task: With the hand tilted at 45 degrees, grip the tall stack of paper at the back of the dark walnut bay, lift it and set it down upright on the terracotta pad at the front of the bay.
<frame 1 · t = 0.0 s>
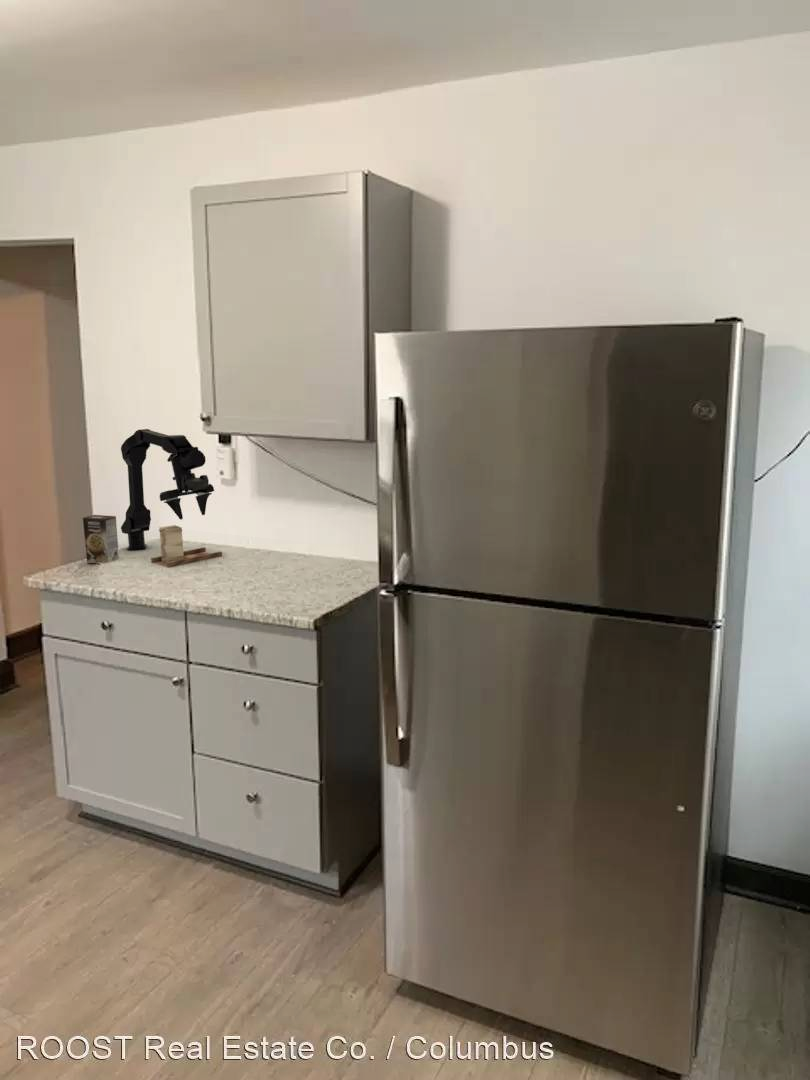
hand: (192, 517, 285), 15 cm above the counter, tool pointing down, fingers open, 9 cm apart
coffee box: (103, 563, 289), on the counter
bay: (187, 562, 287), on the counter
stack of paper: (173, 562, 283), point 1 cm above the counter, touching bay
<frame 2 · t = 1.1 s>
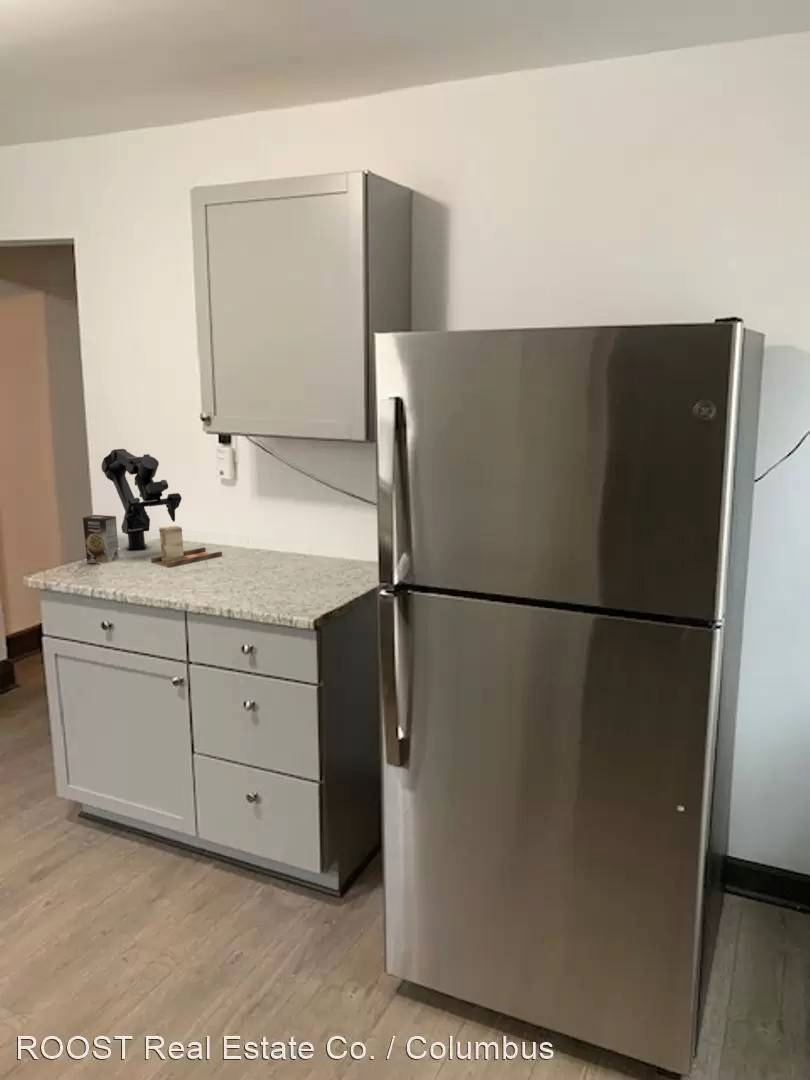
hand: (161, 522, 287), 13 cm above the counter, tool tilted 45°, fingers open, 9 cm apart
nothing on the counter moved.
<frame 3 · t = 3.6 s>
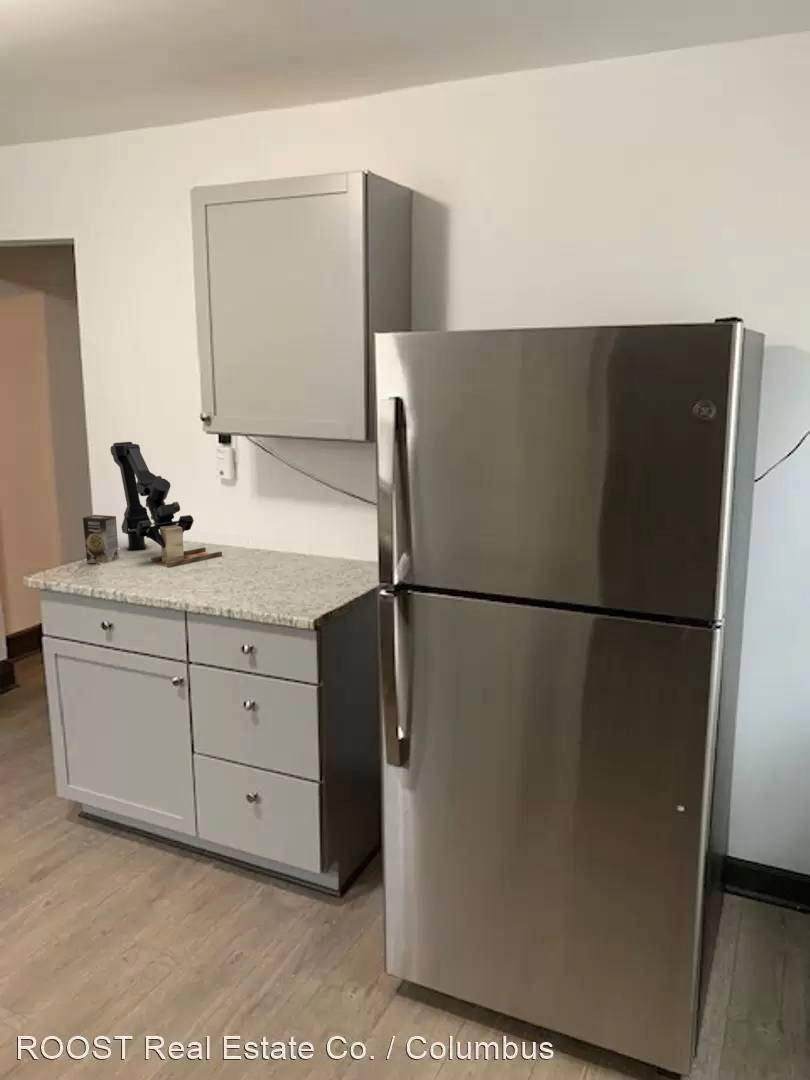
hand: (173, 546, 281), 7 cm above the counter, tool tilted 45°, fingers closed on stack of paper, 6 cm apart
stack of paper: (173, 562, 283), point 1 cm above the counter, touching bay, gripper
everything else where it was.
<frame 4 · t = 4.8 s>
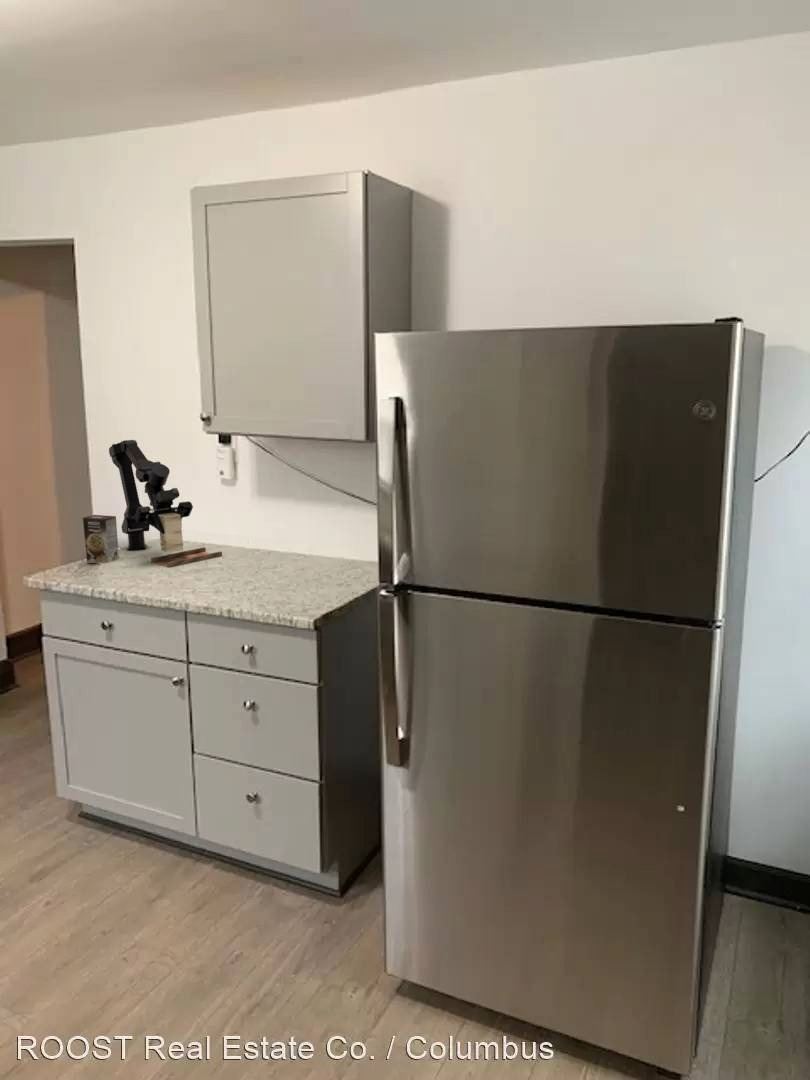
hand: (172, 532, 280), 12 cm above the counter, tool tilted 45°, fingers closed on stack of paper, 5 cm apart
stack of paper: (172, 550, 282), point 5 cm above the counter, touching gripper
everything else where it was.
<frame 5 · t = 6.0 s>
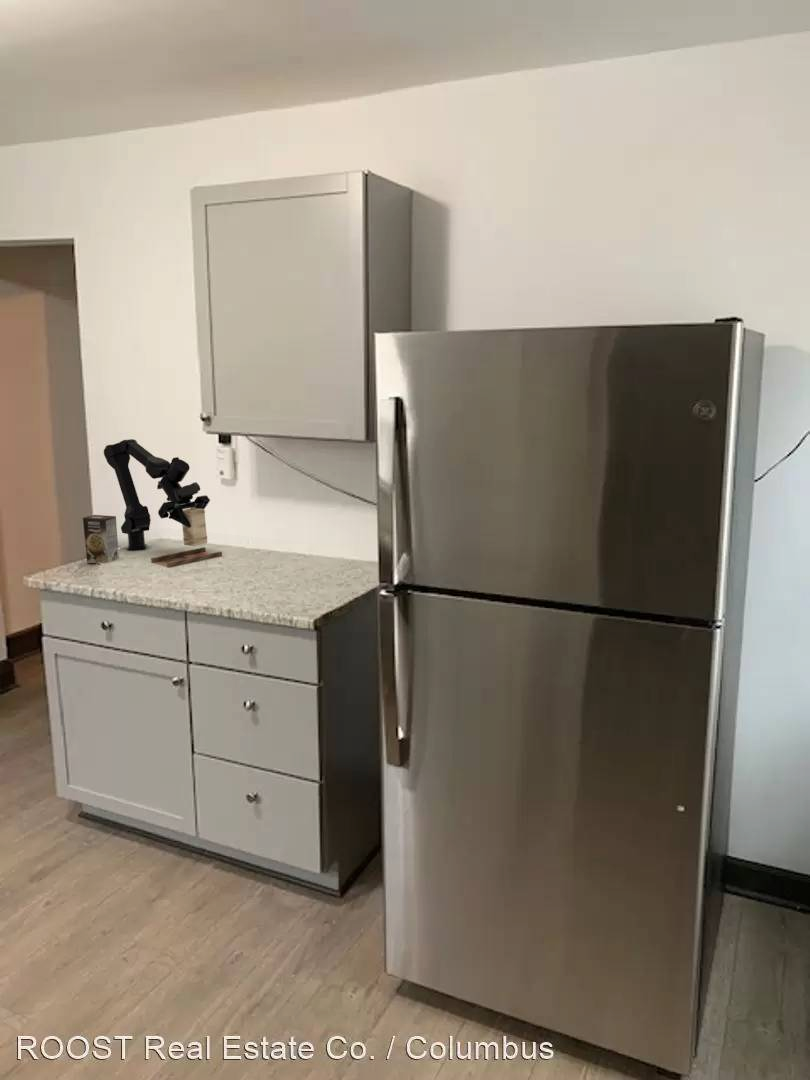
hand: (196, 525, 286), 12 cm above the counter, tool tilted 45°, fingers closed on stack of paper, 5 cm apart
stack of paper: (195, 544, 288), point 6 cm above the counter, touching gripper
everything else where it was.
when the fingers open (8 cm above the counter, at t = 7.7 s): stack of paper stays where it is, resting on bay.
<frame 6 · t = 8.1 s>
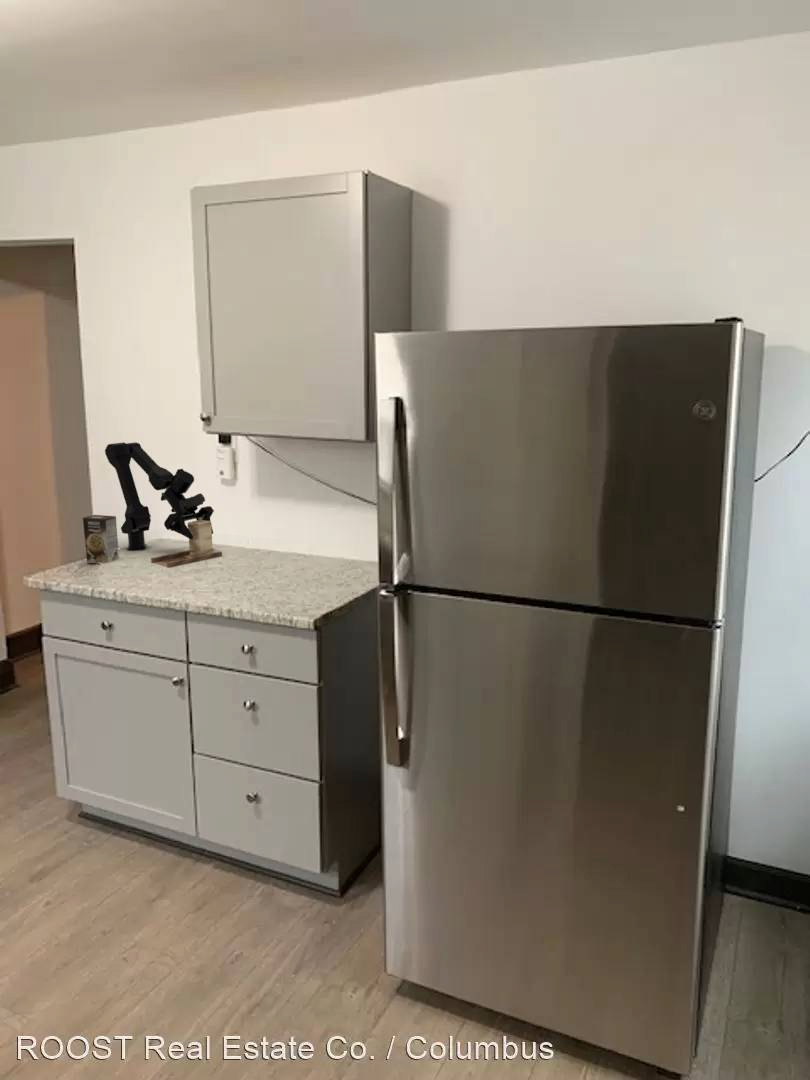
hand: (202, 536, 289), 8 cm above the counter, tool tilted 45°, fingers open, 9 cm apart
stack of paper: (201, 555, 291), point 1 cm above the counter, touching bay
everything else where it was.
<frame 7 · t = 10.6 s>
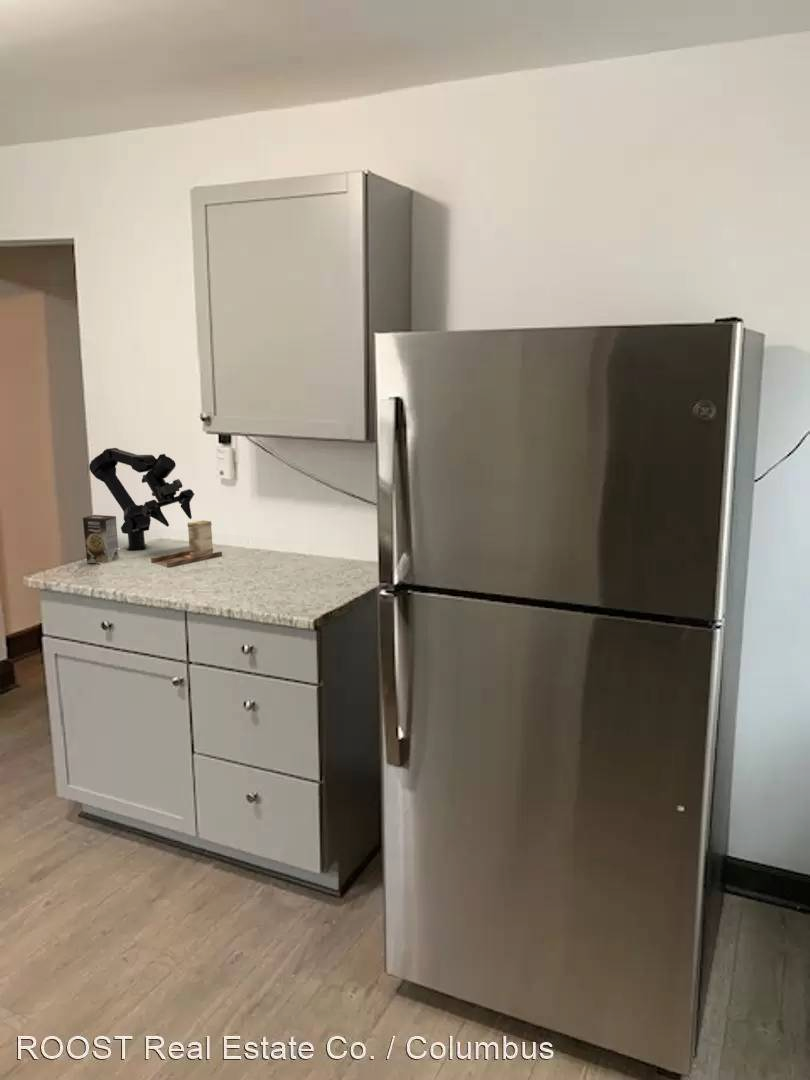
hand: (179, 522, 293), 12 cm above the counter, tool tilted 40°, fingers open, 9 cm apart
nothing on the counter moved.
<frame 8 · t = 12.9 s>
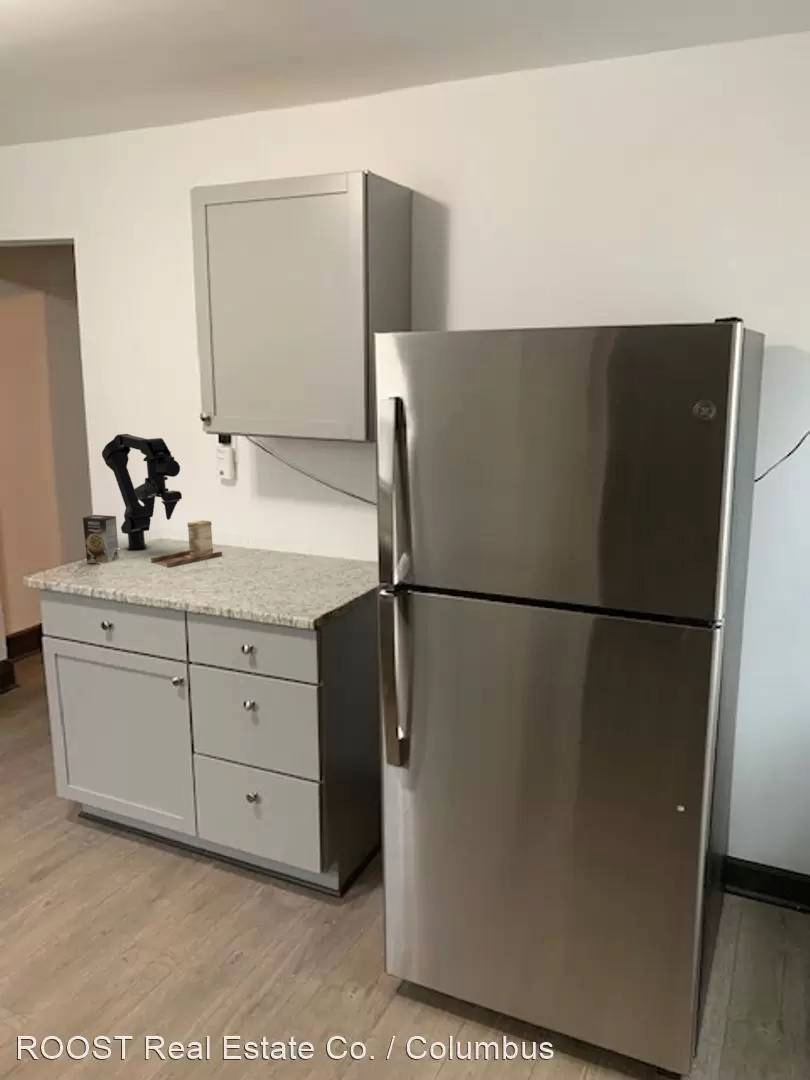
hand: (159, 518, 297), 13 cm above the counter, tool pointing down, fingers open, 9 cm apart
nothing on the counter moved.
at the end: stack of paper 0.3 cm from the target spot, point 1.2 cm above the counter; stack of paper tilted 0°; the gripper is holding nothing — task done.
